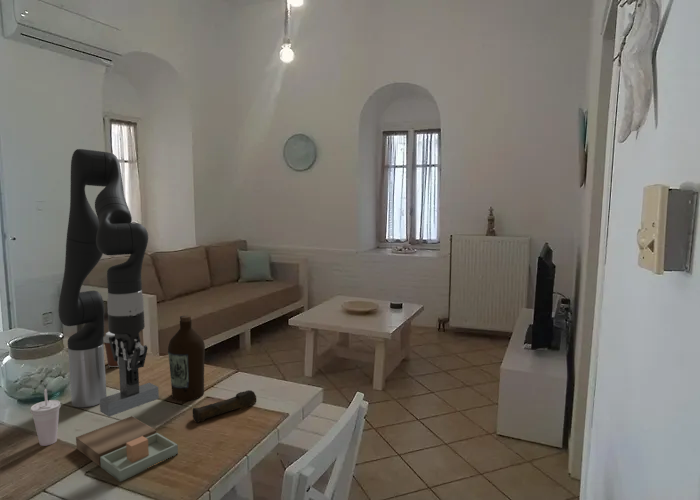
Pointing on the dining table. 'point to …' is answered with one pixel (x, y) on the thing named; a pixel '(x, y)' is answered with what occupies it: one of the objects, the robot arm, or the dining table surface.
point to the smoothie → (46, 420)
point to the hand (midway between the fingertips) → (129, 381)
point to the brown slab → (111, 438)
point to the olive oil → (186, 362)
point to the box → (125, 469)
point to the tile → (137, 449)
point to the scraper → (127, 393)
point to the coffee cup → (109, 350)
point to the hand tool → (225, 406)
